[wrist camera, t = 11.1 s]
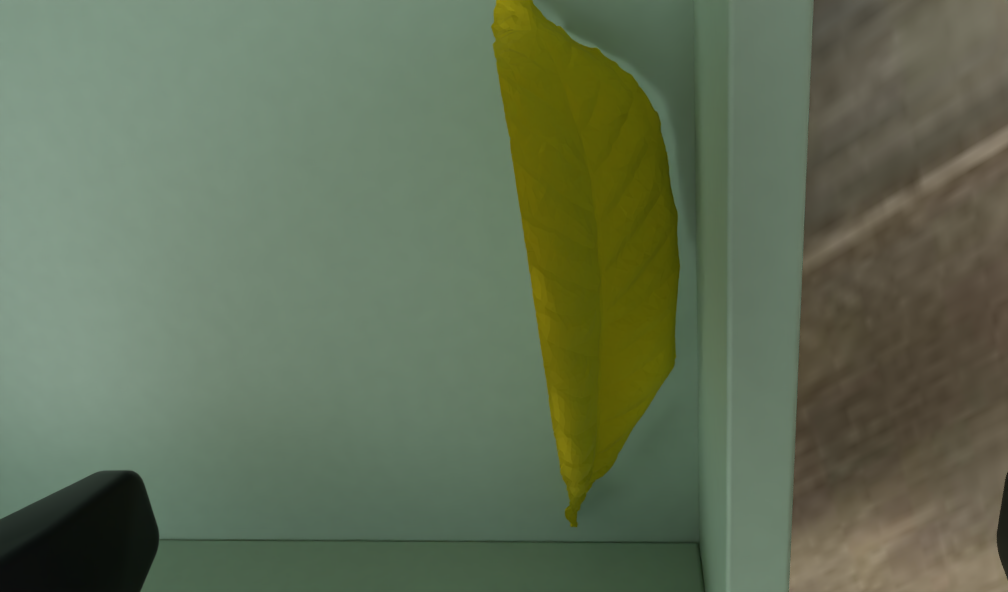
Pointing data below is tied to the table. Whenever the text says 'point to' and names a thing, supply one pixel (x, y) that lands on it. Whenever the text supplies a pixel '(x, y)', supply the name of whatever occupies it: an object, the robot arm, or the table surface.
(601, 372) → the decorative leaf
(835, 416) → the table surface
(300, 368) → the shallow green tray
